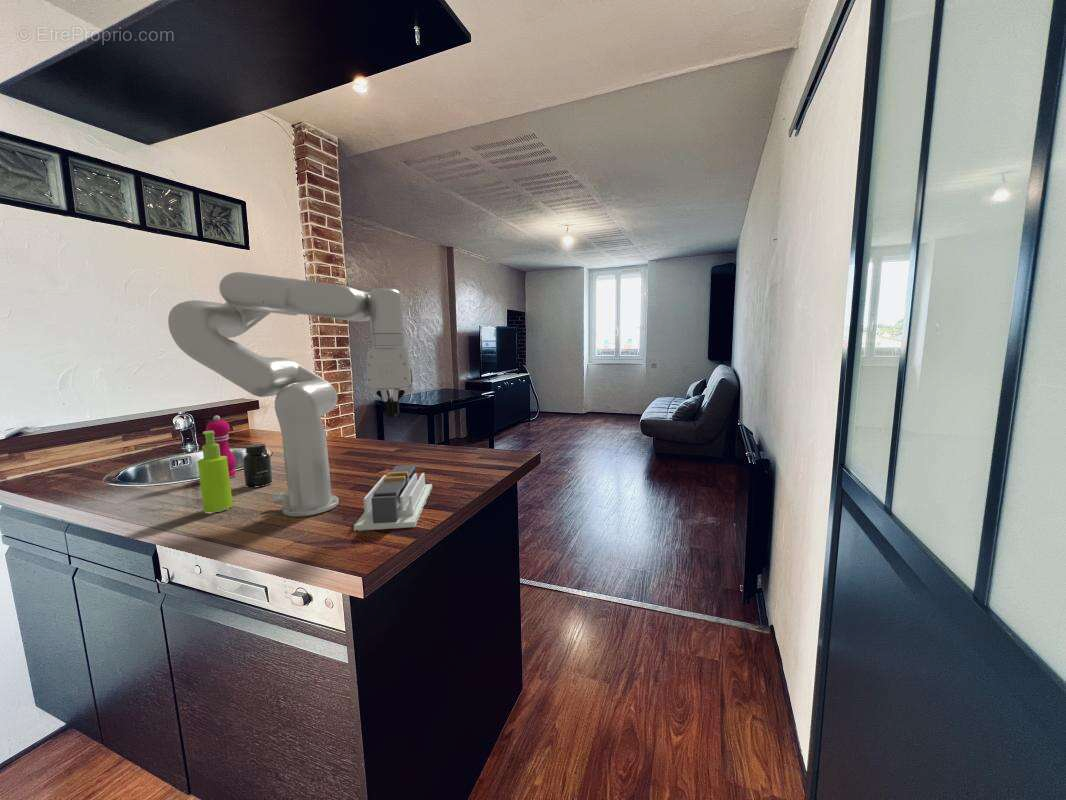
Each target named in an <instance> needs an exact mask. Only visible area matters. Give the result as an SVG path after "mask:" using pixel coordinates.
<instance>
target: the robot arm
mask: <svg viewBox="0 0 1066 800" xmlns="http://www.w3.org/2000/svg"><path fill="white" fill-rule="evenodd" d="M218 286H219V287H218V289H219V293H220V296H221V297H222V298H223V300H225V303H221V302H213V301H205V300H186V301H182V302H178V303H177V304H176V305H174V306H173V307H172V308H171V310H170V311H169V313H168V317H167V318H168V319H167V325H168V329H169V333H170V334H171V335H170V336H171V338H172V339H173V341H174V342H175V344H176V345H177V347H178V348H179V349H180V350H181V351H183V352H184V353H185V354H186V355H187V356H188V357H190V358H191V359H192V360H194V361H195V362H197V363H199V364H201V366H202V365H203V366H204V367H206V368H208V369H210V370H212V371H213V372H214V373H216V374H218V375H220V376H221V377H223V378H224V379H226V380H228V381H229V382H231V383H232V384H234V385H236V386H238V387H239V388H241V389H243V390H244V391H246V392H247V393H249V394H251V395H253V396H255V397H258V398H265V397H267V398H268V397H273V396H274V397H275V398H274V411H275V415H276V418H277V421H278V424H279V425H278V426H279V429H280V434H281V441H282V449H283V458H284V467H285V476H286V477H285V478H286V486H287V491H286V492H274V493H273V494H272V502H273V504H277V503H278V504H279V503H280V504H281V503H283V504H284V505H283V506H282V509H281V510H282V514H283V515H285V516H288V517H295V518H296V517H297V518H298V517H308V516H314V515H318V514H322V513H325V512H328V511H331V510H332V509H334V508H336V507H337V506H338V505H339V503H340V500H339V497H338V496H336V495H335V494H332V485H331V476H330V473H331V472H330V464H329V452H328V443H327V442H328V441H327V434H326V430H325V427H324V424H323V421H322V418H321V416H324V415H326V414H328V413H330V412H331V411H333V410H334V409H335V407H336V406H337V404H338V399H339V397H338V391H336V389H335V387H334V386H333V385H332V384H331V383H330V382H329V381H327V380H326V379H325V378H323V377H321V376H319V375H318V374H317V373H315V372H313V371H312V370H310V369H308V368H306V367H304V366H303V365H302V364H300V363H298V362H296V361H295V360H292V359H289V358H285V357H267V356H263V355H259V354H258V353H257V352H256V353H255V352H254V351H253V350H250V349H249V348H247V347H245V346H244V345H243V344H241V343H239V342H237V341H234V340H232V338H237V337H238V336H239V337H240V336H241V335H243V334H244V333H246V332H248V331H249V330H250V329H251V328H253V327H254V326H256V325H257V324H258V323H259V322H261V321H262V320H263V319H265V318H267V317H268V316H269V315H270V314H271V313H272V314H273V313H274V314H279V315H280V314H281V315H287V316H298V315H304V316H305V315H306V316H313V317H314V316H315V317H320V318H321V317H322V318H329V319H337V320H341V321H342V320H344V321H351V322H357V323H360V322H367V321H369V326H370V335H369V336H368V337H364V342H365V344H370V346H371V347H368V348H367V353H366V354H367V355H366V371H365V372H366V373H365V375H366V378H365V379H366V386H367V388H368V389H367V393H368V394H371V395H374V396H375V395H376V396H378V397H379V398H380V399H382V401H383V402H384V411H385V415H387V418H388V419H389V418H390V419H391V418H392V419H395V418H396V417H397V416H398V415H399V414H400V399H402V397H403V396H404V395H407V394H411V393H413V392H414V391H415V390H414V386H413V370H412V363H411V357H410V352H409V349H408V347H405V333H404V314H403V313H404V312H403V298H402V294H401V292H400V291H399V290H397V289H394V288H385V287H384V288H383V287H382V288H374V289H371V290H370V291H363V290H360V289H356V288H353V287H350V286H347V285H342V284H336V283H330V282H323V281H322V282H321V281H320V282H319V281H314V280H313V281H312V280H304V279H297V278H289V277H282V276H273V275H267V274H259V273H252V272H244V271H243V272H242V271H237V272H231V273H228V274H226V275H224V276H223V278H222V279H221V280H220V282H219V285H218ZM230 338H231V339H230ZM390 390H393V391H392V393H393V394H392V397H391V393H390Z"/></svg>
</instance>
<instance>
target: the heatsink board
mask: <svg viewBox="0 0 1066 800" xmlns="http://www.w3.org/2000/svg"><path fill="white" fill-rule="evenodd" d="M425 475H426V474H425V472H422V473H421V474H420V476H419V478H418V473H417V465H415V469H414V471H413V472H412V473H411V475H410V476H409V477H408V479H406V483H405V484H404V486H403V487H402V489H401V490H400V492H399V494H398V495H397V497H396V495H394V496H376V497H373V493H374V492H375V491H376V489H377V488H378V487H379V486H380V484H381V483H382V482H383V478H384V477H387V474H384V475H383V476H382V477H381V478H380V479H379V481H377V483H375V485H374V486H373V487H372V488H371V490H370V491H368V493H367V494H366V495H365V497H363V507H364V510H363V511H364V512H363V513H362V514H361V516H360V517H359V518H358V520H357V521H356V522H355V523H354V524H353V531H354V532H356V530H358V531H371V530H372V531H374V530H386V529H387V530H389V529H404V528H416V525H417V523H418V522H417V521H419V519H420V517H421V515H422V513H423V510H424V508H423V507H425V506H424V505H426V503H427V501H428V499H427V498H429V497H428V496H430V495H431V492H432V490H433V483H428V484H427V483H426V478H425V477H426V476H425ZM431 489H432V490H431ZM430 491H431V492H430ZM426 500H427V501H426ZM420 514H421V515H420Z"/></svg>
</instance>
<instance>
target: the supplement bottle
mask: <svg viewBox="0 0 1066 800" xmlns="http://www.w3.org/2000/svg"><path fill="white" fill-rule="evenodd" d="M266 451H267V449H266V444H265V443H256V444H255V443H253V444H249V445H246V446H245V453H246V455H244V456H243V458H242V462H243V464H242V465H243V475H244V484H245V487H246V486H248V487H255V486H262V485H266V484H269V483H271V482H272V483H273V474H272V461H271V455H270V454H269V453H268V452H266ZM272 483H271V484H272ZM269 485H270V484H269ZM248 487H247V488H248Z"/></svg>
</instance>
